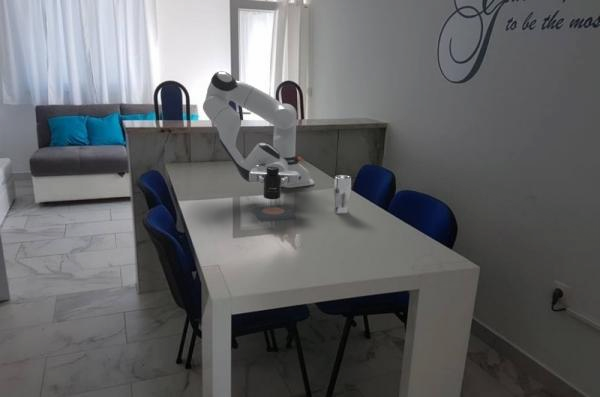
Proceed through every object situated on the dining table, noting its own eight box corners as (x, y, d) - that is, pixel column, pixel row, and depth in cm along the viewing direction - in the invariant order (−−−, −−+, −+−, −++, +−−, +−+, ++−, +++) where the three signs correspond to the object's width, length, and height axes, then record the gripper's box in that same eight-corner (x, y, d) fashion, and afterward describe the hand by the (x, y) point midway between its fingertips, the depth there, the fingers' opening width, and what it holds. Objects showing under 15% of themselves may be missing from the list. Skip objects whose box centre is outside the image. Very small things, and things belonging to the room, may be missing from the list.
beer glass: (351, 211, 197) (353, 176, 192) (346, 215, 190) (348, 179, 186) (336, 208, 199) (337, 174, 195) (330, 213, 193) (331, 177, 189)
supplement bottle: (270, 200, 182) (271, 170, 179) (259, 196, 187) (260, 167, 184) (284, 197, 187) (284, 168, 183) (273, 194, 191) (273, 165, 188)
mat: (284, 208, 197) (284, 204, 197) (295, 218, 186) (295, 214, 185) (252, 211, 192) (252, 207, 192) (260, 221, 181) (260, 217, 180)
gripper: (300, 181, 198) (298, 190, 184) (252, 179, 199) (246, 187, 185) (300, 166, 196) (298, 174, 183) (252, 164, 197) (246, 172, 184)
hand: (272, 181), depth 184 cm, fingers closed on supplement bottle, 7 cm apart
